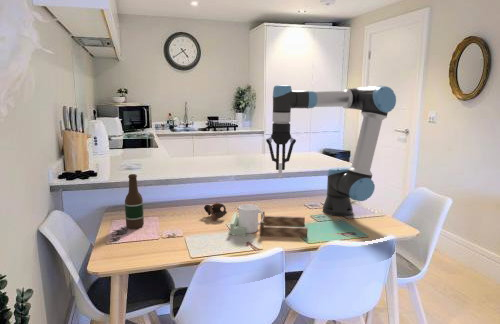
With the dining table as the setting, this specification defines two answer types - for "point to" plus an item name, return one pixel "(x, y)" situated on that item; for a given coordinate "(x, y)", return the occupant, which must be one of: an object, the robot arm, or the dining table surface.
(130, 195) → the beer bottle
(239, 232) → the end stop
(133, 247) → the dining table surface
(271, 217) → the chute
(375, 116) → the robot arm
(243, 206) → the mug
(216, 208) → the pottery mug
